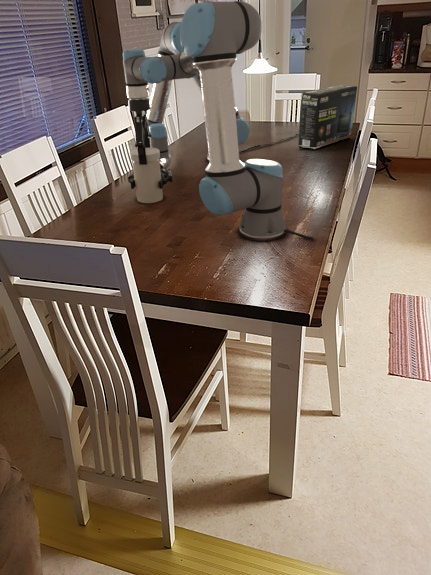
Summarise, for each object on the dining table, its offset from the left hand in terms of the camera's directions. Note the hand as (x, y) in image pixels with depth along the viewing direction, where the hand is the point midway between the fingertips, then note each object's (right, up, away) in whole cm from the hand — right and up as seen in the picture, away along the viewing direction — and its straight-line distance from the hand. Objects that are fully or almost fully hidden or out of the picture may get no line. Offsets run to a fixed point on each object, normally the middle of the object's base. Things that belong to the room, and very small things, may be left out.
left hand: (146, 185), depth 174 cm
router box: (+85, +38, +71) cm, 117 cm away
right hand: (0, +10, -1) cm, 10 cm away
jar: (+1, -4, +7) cm, 8 cm away
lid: (0, +12, -2) cm, 12 cm away
